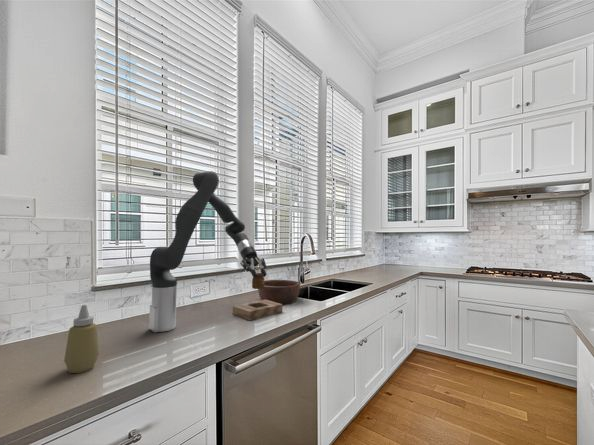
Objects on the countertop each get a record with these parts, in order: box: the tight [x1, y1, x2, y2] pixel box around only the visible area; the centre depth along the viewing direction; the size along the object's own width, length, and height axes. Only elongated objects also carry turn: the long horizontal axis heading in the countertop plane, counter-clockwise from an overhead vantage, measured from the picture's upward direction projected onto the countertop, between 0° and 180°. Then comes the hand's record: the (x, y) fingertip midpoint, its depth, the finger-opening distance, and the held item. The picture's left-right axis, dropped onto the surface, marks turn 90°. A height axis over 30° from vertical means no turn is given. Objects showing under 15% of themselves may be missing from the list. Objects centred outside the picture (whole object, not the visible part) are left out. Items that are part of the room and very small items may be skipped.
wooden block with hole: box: [232, 299, 284, 321], centre depth 142 cm, size 20×14×4 cm
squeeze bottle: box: [63, 304, 100, 374], centre depth 83 cm, size 8×8×18 cm
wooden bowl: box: [257, 279, 301, 305], centre depth 170 cm, size 25×25×10 cm
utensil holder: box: [251, 264, 265, 290], centre depth 143 cm, size 6×6×12 cm
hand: (260, 276), depth 141 cm, fingers closed on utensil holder, 5 cm apart
